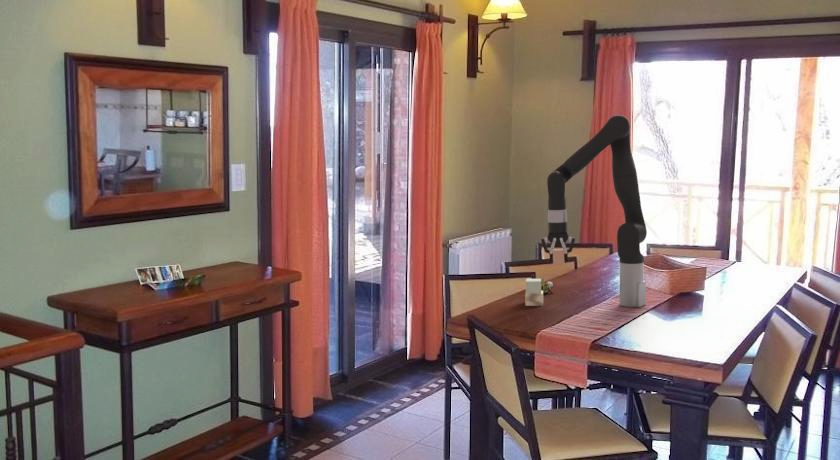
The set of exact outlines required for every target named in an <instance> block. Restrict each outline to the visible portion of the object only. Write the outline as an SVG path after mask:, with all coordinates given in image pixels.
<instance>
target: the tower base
mask: <svg viewBox="0 0 840 460" xmlns="http://www.w3.org/2000/svg"><path fill="white" fill-rule="evenodd" d="M524 296H525V297H524V299H525V301H524V302H525V303H524V305H525V306H526V307H530V306H531V307H533V306H535V307H543V306H544V292H543V291H541V294H526V291H525V293H524Z"/></svg>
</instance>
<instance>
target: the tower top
mask: <svg viewBox="0 0 840 460" xmlns="http://www.w3.org/2000/svg"><path fill="white" fill-rule="evenodd" d="M525 279H526V280H525V292H526V294H541V279H542V278H525Z"/></svg>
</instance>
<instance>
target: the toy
mask: <svg viewBox="0 0 840 460" xmlns="http://www.w3.org/2000/svg"><path fill="white" fill-rule="evenodd" d="M540 279H541V291H543V294H549V293H550V294H552V295H554V292H552V291H551V289H553V288H554V283H553V282H552V281H545V278H540Z"/></svg>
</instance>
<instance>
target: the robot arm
mask: <svg viewBox="0 0 840 460" xmlns="http://www.w3.org/2000/svg"><path fill="white" fill-rule="evenodd" d="M630 132H631V122H630V120H629V119H628V118H627V117H626V116H624V115H620V114H616V115H613V116H611V117H610V118H608V119H607V122H606V123H605V125H604V126H603V127H602V128H601V129H600V130H599V131H598V132H597V133H596V134H595V135H594V136H593V137H592V138H591V139H590V140H589V141H587V142H586V143H585V144H584V145H582V147H580V148H578V150H576V151H575V152H574V153H573V154H571V155H570V157H568V158H567V159H566V160H565V161H564V162H563V163H562V164H560V165H559V166H558V167H557V168H556V169H554V170H553V171H552V172H550V173H549V175H548V176H547V179H546V182H547V184H546V185H547V192H548V193H547V194H548V196H547V197H548V200H547V201H548V202H547V205H548V206H547V210H548V212H547V226H548V227H547V229H548V230H547V231H548V233H547V236H546V237H542V238H541V244H542V246H543V249H544V253H546V254H549V262H551V264H553V249H555V247H557V246H558V247H562V249H563V250H564V263H567V262H568V260H569V257H568V256H569V255H568V254H569V253H572V251H573V248H574V244H575V241H576V238H575V237H574V236H570V235H569V234H568V215H567V201H566V200H567V199H566V193H565V192H566V183H568V182H569V181H570V180H571V179H572V178H573V177H574V176H576V175H577V174H579V173H580V172H581V171H582V170H584V169H585V168H586V167H587V166H588V165H589V164H590V163H592V161H593V160H594V159H596V157H597V156H598V155H600V153H602V152H603V150H605V149H606V148H607V147H609V146H610V149H611V158H612V159H611V164H612V165H611V169H612V170H611V171H612V178H613V179H612V181H613V187H614V191H615V194H616V196H617V199H618V200H619V201H618V202H620V204H621V206H622V209H623V215H624V221H625V222H624V223H622V224H621V225H620V226H619V227H618V228H617V235H616V241H617V242H616V247H617V255H618V258H619V305H620V306H622V307H627V308H640V307H643V306H646V303H647V301H646V299H647V297H646V295H647V291H646V290H647V289H646V286H647V284H646V283H647V282H646V281H645V279H644V278H645V277H644V269H645V268H644V267H645V265H644V261H645V259H644V254H642V253H641V247H640V245H641V243H643V242H644V241H645V239H646V238H647V234H648V233H647V225H646V222H645V218H644V214H643V209H642V205H641V197H640V189H639V181H638V180H639V179H638V173H637V168H636V164H635V161H634V157H633V154H632V150H631V138H630V136H631V135H630V134H631V133H630ZM568 240H569V241H568ZM548 241H549V243H550V248H549V249H548V246H547V242H548ZM567 241H568V242H569V243H570V245H569V248H567V247H566V242H567Z"/></svg>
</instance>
